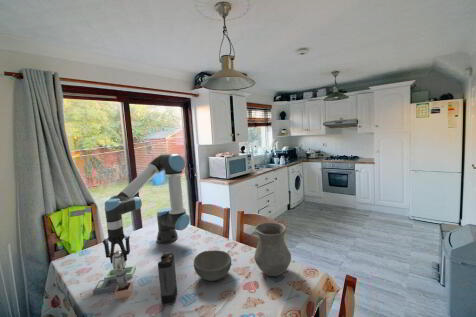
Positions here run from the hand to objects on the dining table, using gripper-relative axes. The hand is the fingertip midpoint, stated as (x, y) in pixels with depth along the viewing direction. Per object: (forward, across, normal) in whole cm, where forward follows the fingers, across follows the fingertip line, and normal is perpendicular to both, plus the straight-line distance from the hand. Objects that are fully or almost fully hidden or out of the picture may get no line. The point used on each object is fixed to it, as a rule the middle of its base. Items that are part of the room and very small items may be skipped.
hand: (119, 267), depth 125 cm
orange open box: (+6, -7, +17) cm, 19 cm away
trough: (+5, 0, 0) cm, 5 cm away
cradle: (+6, +3, +9) cm, 11 cm away
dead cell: (+5, -7, +17) cm, 18 cm away
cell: (+3, 0, 0) cm, 3 cm away
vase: (+6, -83, +20) cm, 86 cm away
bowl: (+6, -51, +14) cm, 53 cm away
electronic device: (+6, -29, +25) cm, 39 cm away
